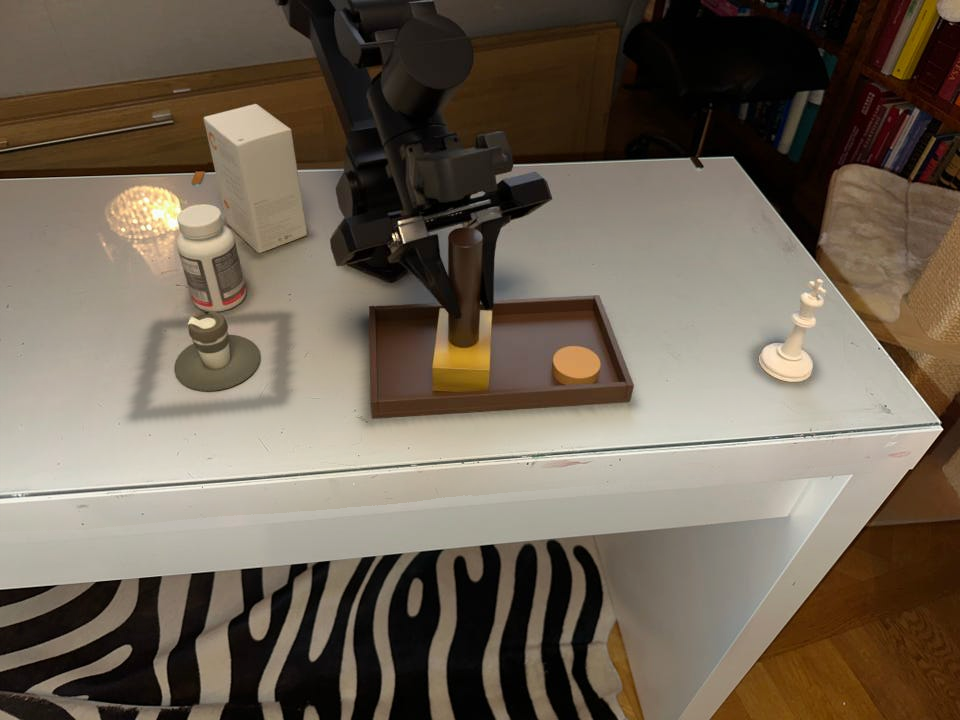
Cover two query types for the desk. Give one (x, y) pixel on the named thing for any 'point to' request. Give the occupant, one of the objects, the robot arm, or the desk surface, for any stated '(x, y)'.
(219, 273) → the pill bottle
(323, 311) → the desk surface
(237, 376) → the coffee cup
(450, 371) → the sponge wand
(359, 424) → the desk surface
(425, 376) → the tray
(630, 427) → the desk surface
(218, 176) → the small box
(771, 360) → the chess piece
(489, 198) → the robot arm
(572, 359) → the disc
